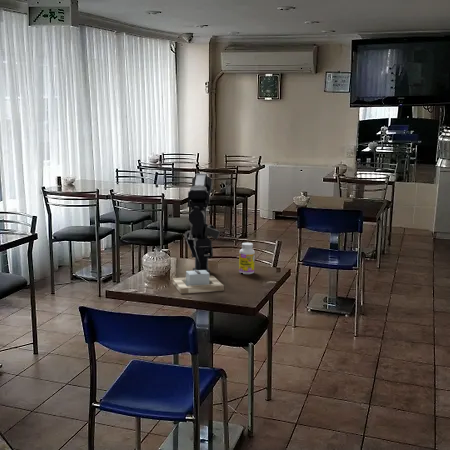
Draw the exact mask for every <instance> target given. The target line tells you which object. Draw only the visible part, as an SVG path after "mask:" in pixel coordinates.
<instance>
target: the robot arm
mask: <svg viewBox="0 0 450 450" xmlns="http://www.w3.org/2000/svg"><path fill="white" fill-rule="evenodd" d="M211 192H213V179H212V178H211V177H210V176H208V174H207V173H195V174H194V177H192V179H191V186H190V188H189V190H188V193H187V204H186V205H187V208H190V212H189V215H188V221H189V222H188V223H189V226H190V230H187V231H185V232H184V238H185V241H186V243H187V245H188V248H189V250H190V253H191V258H193V259H194V267H192V271H195V270H206V271H207V272H208V273H210V272H211V269H209V259H211V258H213V257H214V254H213V253H214V248H213V246H212V244H213V243H212V242H213V241H212V239H210V238H209V237H211V238H214V239H215V240H218V238H219V235H220V233H221V231H220V230H218V229H216V228H215V225H212V224H207V221H208V220H207V219H208V218H207V216H208V214H207V213H208V211H207V210H208V209H207V208H208V206H209V205H210V201H211V200H210V199H211V198H210V197H211Z"/></svg>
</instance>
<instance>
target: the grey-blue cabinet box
mask: <svg viewBox="0 0 450 450" xmlns="http://www.w3.org/2000/svg"><path fill="white" fill-rule="evenodd" d="M209 276H210V272H207V271H206V270H195V271H194V270H185V277H186V284H185V285H186V286H192V285H207V284H209Z"/></svg>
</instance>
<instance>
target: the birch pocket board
mask: <svg viewBox="0 0 450 450" xmlns="http://www.w3.org/2000/svg"><path fill="white" fill-rule="evenodd" d="M171 281H172V285H173V287H174V288H176V290H177V291H178V292H179V294H194V293H209V292H222V291H223V292H224V289H225V288H224V287H225V286H224V284H223V283H222V282H220V281H219V280H218V279H217V278H216V277H215V276H214V275H209V284H207V285H192V286H186V276H185V277H174V278H172V280H171Z"/></svg>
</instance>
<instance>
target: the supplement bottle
mask: <svg viewBox="0 0 450 450" xmlns="http://www.w3.org/2000/svg"><path fill="white" fill-rule="evenodd" d="M241 247H242V248H241V249H239V252H238V253H239V254H238V255H239V256H238V257H239V258H238V272H239V274H241V273H243V275H252V274H254V273H255V261H256V259H255V258H256V257H255V254H256V252H255V250H254V248H253V247H254V244H253V243H252V242H242V243H241Z"/></svg>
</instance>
